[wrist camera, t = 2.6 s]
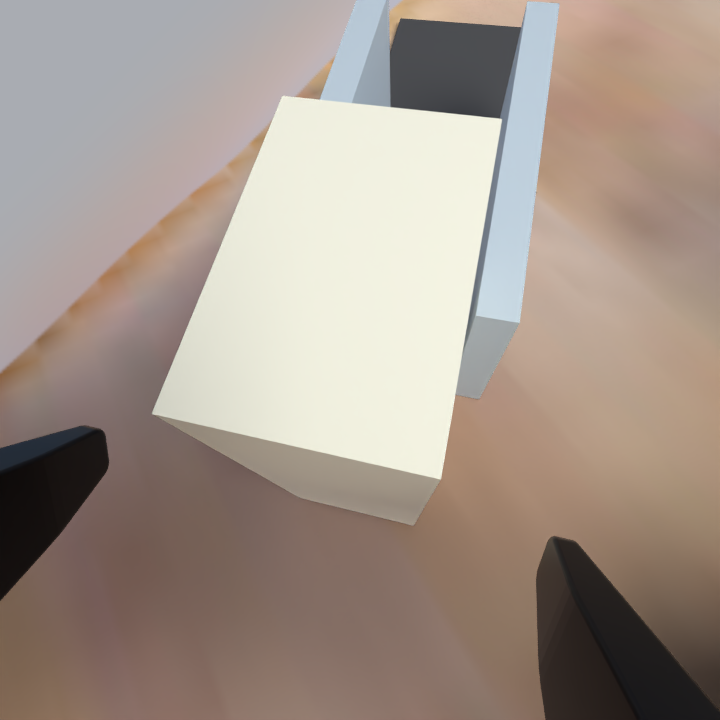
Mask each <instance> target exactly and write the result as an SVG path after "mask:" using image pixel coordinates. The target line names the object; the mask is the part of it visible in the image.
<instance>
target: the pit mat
mask: <svg viewBox="0 0 720 720" xmlns="http://www.w3.org/2000/svg"><path fill="white" fill-rule="evenodd" d="M520 31H521V27H508V26H495V25H482V24H468V23H455V22H442V21H428V20H415V19H400V22H399V26H398V29H397V32H396V35H395V39H394V42H393V45H392V48H391V51H390V107H394V108H403V109H413V110H422V111H432V112H441V113H451V114H460V115H470V116H479V117H489V118H498V119H500V116H501V111H502V107H503V103H504V99H505V94H506V90H507V86H508V82H509V77H510V73H511V69H512V65H513V60H514V56H515V52H516V48H517V44H518V39H519V35H520Z"/></svg>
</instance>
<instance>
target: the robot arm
mask: <svg viewBox="0 0 720 720" xmlns="http://www.w3.org/2000/svg"><path fill="white" fill-rule="evenodd" d="M108 466H109V457H108V450H107V443H106V436H105V433H104V432H103V430H101V429H99V428H94V427H90V426H78V427H75V428H71V429H68V430H64V431H61V432H57V433H53V434H50V435H46V436H43V437H39V438H35V439H32V440H28V441H25V442H21V443H17V444H14V445H10V446H7V447H3V448H0V601H1V600H2V599H3V597H4V596H5V595H6V594H7V593H8V592H9V591H10V590H11V589H12V587H13V586H14V585H15V584H16V583H17V582H18V581H19V580H20V578H21V577H22V576H23V575H24V574H25V573H26V572H27V571H28V570H29V568H30V567H31V566H32V565H33V564H34V563H35V562H36V561H37V559H38V558H39V557H40V556H41V555H42V554H43V553H44V552H45V551H46V549H47V548H48V547H49V546H50V545H51V544H52V543H53V541H54V540H55V539H56V538H57V537H58V536H59V534H60V533H61V532H62V531H63V529H64V528H65V527H66V525H67V524H68V523H69V522H70V520H71V519H72V518H73V516H74V515H75V513H76V512H77V511H78V509H79V508H80V507H81V505H82V504H83V503H84V501H85V500H86V499H87V497H88V496H89V495H90V493H91V492H92V491H93V489H94V488H95V487H96V485H97V484H98V483H99V481H100V480H101V479H102V477H103V476H104V475H105V473H106V471H107V469H108ZM536 593H537V629H538V660H539V674H540V683H541V690H542V698H543V705H544V712H545V719H546V720H720V711H719V710H718V708H717V707H716V706H715V705H714V704H713V702H712V701H711V700H710V699H709V698H708V697H707V695H706V694H705V693H704V692H703V691H702V689H701V688H700V687H699V686H698V685H697V684H696V682H695V681H694V680H693V679H692V678H691V676H690V675H689V674H688V673H687V672H686V671H685V669H684V668H683V667H682V666H681V665H680V664H679V662H678V661H677V660H676V659H675V658H674V656H673V655H672V654H671V653H670V652H669V651H668V649H667V648H666V647H665V646H664V645H663V643H662V642H661V641H660V640H659V639H658V638H657V636H656V635H655V634H654V633H653V632H652V631H651V629H650V628H649V627H648V626H647V625H646V623H645V622H644V621H643V620H642V619H641V618H640V616H639V615H638V614H637V613H636V612H635V610H634V609H633V608H632V607H631V606H630V605H629V603H628V602H627V601H626V600H625V599H624V597H623V596H622V595H621V594H620V593H619V592H618V590H617V589H616V588H615V587H614V586H613V585H612V583H611V582H610V581H609V580H608V579H607V577H606V576H605V575H604V574H603V573H602V572H601V570H600V569H599V568H598V567H597V566H596V564H595V563H594V562H593V561H592V560H591V559H590V557H589V556H588V555H587V554H586V553H585V552H584V550H583V549H582V548H581V547H580V546H579V544H578V543H576V542H575V541H573V540H570V539H565V538H561V537H557V536H553V537H551V538H550V539H549V540H548V542H547V545H546V548H545V550H544V553H543V556H542V559H541V561H540V564H539V567H538V571H537V577H536Z"/></svg>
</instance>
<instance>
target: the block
mask: <svg viewBox="0 0 720 720" xmlns="http://www.w3.org/2000/svg"><path fill="white" fill-rule="evenodd" d="M501 123H502V119H498V118H489V117H479V116H470V115H460V114H451V113H441V112H432V111H422V110H413V109H403V108H394V107H384V106H375V105H365V104H356V103H346V102H337V101H327V100H317V99H308V98H298V97H289V96H282V98H281V101H280V103H279V106H278V108H277V110H276V113H275V115H274V118H273V120H272V123H271V125H270V127H269V130H268V132H267V135H266V137H265V140H264V142H263V144H262V147H261V149H260V152H259V154H258V157H257V159H256V161H255V164H254V166H253V169H252V171H251V174H250V176H249V178H248V181H247V183H246V186H245V188H244V191H243V193H242V195H241V198H240V200H239V203H238V205H237V208H236V210H235V212H234V215H233V217H232V220H231V222H230V225H229V227H228V229H227V232H226V234H225V237H224V239H223V242H222V244H221V246H220V249H219V251H218V254H217V256H216V259H215V261H214V263H213V266H212V268H211V271H210V273H209V276H208V278H207V280H206V283H205V285H204V288H203V290H202V293H201V295H200V297H199V300H198V302H197V305H196V307H195V310H194V312H193V314H192V317H191V319H190V322H189V324H188V327H187V329H186V332H185V334H184V336H183V339H182V341H181V344H180V346H179V349H178V351H177V353H176V356H175V358H174V361H173V363H172V366H171V368H170V370H169V373H168V375H167V378H166V380H165V383H164V385H163V387H162V390H161V392H160V395H159V397H158V400H157V402H156V404H155V407H154V409H153V412H152V414H153V415H155V416H156V417H158V418H160V419H162V420H163V421H165V422H167V423H169V424H170V425H172V426H174V427H176V428H177V429H179V430H181V431H183V432H184V433H186V434H188V435H190V436H192V437H193V438H195V439H197V440H199V441H200V442H202V443H204V444H206V445H207V446H209V447H211V448H213V449H214V450H216V451H218V452H220V453H222V454H223V455H225V456H227V457H229V458H230V459H232V460H234V461H236V462H237V463H239V464H241V465H243V466H244V467H246V468H248V469H250V470H252V471H253V472H255V473H257V474H259V475H260V476H262V477H264V478H266V479H267V480H269V481H271V482H273V483H274V484H276V485H278V486H280V487H282V488H283V489H285V490H287V491H289V492H290V493H292V494H294V495H296V496H297V497H299V498H302V499H306V500H310V501H314V502H318V503H322V504H327V505H331V506H335V507H339V508H343V509H347V510H351V511H355V512H359V513H363V514H367V515H372V516H376V517H380V518H384V519H388V520H392V521H396V522H400V523H404V524H408V525H412V526H414V524H415V523H416V521H417V519H418V517H419V516H420V514H421V512H422V511H423V509H424V507H425V506H426V504H427V502H428V501H429V499H430V497H431V495H432V494H433V492H434V490H435V489H436V487H437V485H438V484H439V482H440V480H441V476H442V470H443V464H444V458H445V452H446V447H447V441H448V435H449V429H450V423H451V417H452V411H453V405H454V400H455V394H456V388H457V382H458V376H459V370H460V364H461V358H462V352H463V347H464V341H465V335H466V329H467V323H468V317H469V311H470V305H471V300H472V294H473V288H474V282H475V276H476V270H477V264H478V258H479V252H480V247H481V241H482V235H483V229H484V223H485V217H486V211H487V205H488V200H489V194H490V188H491V182H492V176H493V170H494V164H495V158H496V152H497V147H498V141H499V135H500V129H501Z"/></svg>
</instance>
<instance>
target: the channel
mask: <svg viewBox="0 0 720 720" xmlns="http://www.w3.org/2000/svg"><path fill="white" fill-rule="evenodd" d="M558 11H559V3H544V2H528V1H527V5H526V10H525V14H524V18H523V22H522V27H521V31H520V35H519V39H518V44H517V48H516V52H515V56H514V60H513V65H512V69H511V73H510V77H509V82H508V86H507V90H506V94H505V99H504V103H503V107H502V111H501V116H500V119H502V123H501V129H500V135H499V141H498V147H497V152H496V158H495V164H494V170H493V176H492V182H491V188H490V194H489V200H488V205H487V211H486V217H485V223H484V229H483V235H482V241H481V247H480V252H479V258H478V264H477V270H476V276H475V282H474V288H473V294H472V300H471V305H470V311H469V317H468V323H467V329H466V335H465V341H464V347H463V352H462V358H461V364H460V370H459V376H458V382H457V388H456V394H455V395H459V396H464V397H469V398H474V399H480V397H481V395H482V393H483V391H484V389H485V387H486V385H487V383H488V382H489V380H490V378H491V376H492V374H493V372H494V370H495V368H496V366H497V365H498V363H499V361H500V359H501V357H502V355H503V353H504V351H505V349H506V348H507V346H508V344H509V342H510V340H511V338H512V336H513V334H514V333H515V331H516V329H517V327H518V325H519V323H520V315H521V307H522V299H523V291H524V283H525V275H526V267H527V259H528V251H529V243H530V235H531V227H532V219H533V211H534V203H535V195H536V187H537V179H538V171H539V163H540V155H541V147H542V139H543V131H544V123H545V115H546V107H547V99H548V91H549V83H550V75H551V67H552V59H553V51H554V43H555V35H556V27H557V19H558ZM320 100H327V101H337V102H346V103H356V104H365V105H375V106H384V107H390V43H389V0H356V3H355V5H354V8H353V11H352V14H351V16H350V19H349V22H348V25H347V27H346V30H345V32H344V35H343V38H342V41H341V43H340V46H339V49H338V51H337V54H336V57H335V60H334V62H333V65H332V68H331V70H330V73H329V76H328V78H327V81H326V84H325V87H324V89H323V92H322V95H321V97H320Z"/></svg>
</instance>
